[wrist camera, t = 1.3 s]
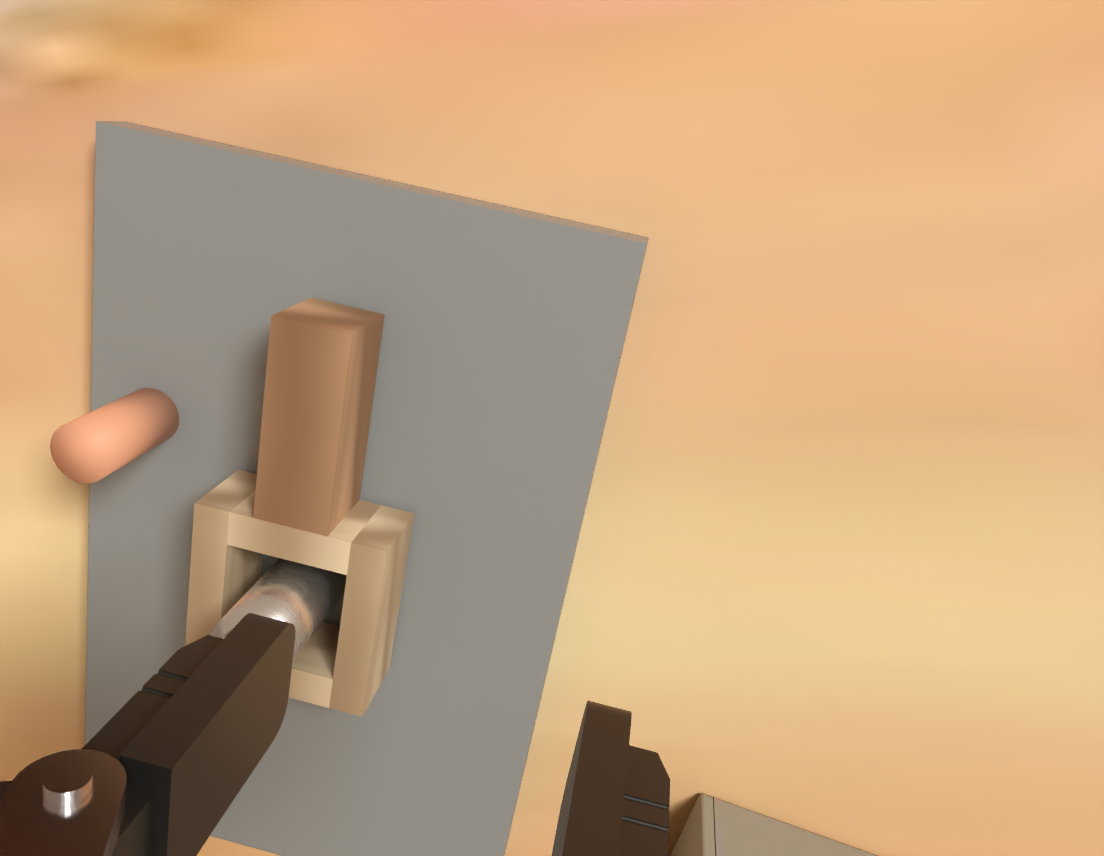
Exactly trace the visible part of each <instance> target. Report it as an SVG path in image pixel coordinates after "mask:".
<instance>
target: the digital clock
mask: <svg viewBox="0 0 1104 856" xmlns="http://www.w3.org/2000/svg"><path fill="white" fill-rule="evenodd" d="M670 856H877V855H874V854H871V853H868V852H865V851H863V850H860V849H857V848H854V847H851V846H849V845H846V844H843V843H840V842H837V841H834V840H832V839H829V838H826V837H823V836H820V835H818V834H815V833H812V832H809V831H806V830H804V829H801V828H798V827H795V826H792V825H790V824H787V823H784V822H781V821H778V820H775V819H773V818H770V817H767V816H764V815H761V814H759V813H756V812H753V811H750V810H747V809H745V808H742V807H739V806H736V805H733V804H731V803H728V802H725V801H722V800H719V799H717V798H714V797H711V796H708V795H705V794H700V795H699V797H698V798H697V800H696V802H695V804H694V806H693V808H692V811H691V813H690V815H689V817H688V819H687V821H686V823H685V825H684V827H683V830H682V832H681V834H680V836H679V838H678V840H677V842H676V844H675V846H674V849H673V851H672V853H671V855H670Z"/></svg>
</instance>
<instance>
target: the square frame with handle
mask: <svg viewBox="0 0 1104 856" xmlns="http://www.w3.org/2000/svg"><path fill="white" fill-rule="evenodd" d="M384 317H385V314H381V313H376V312H372V311H368V310H364V309H359V308H355V307H351V306H346V305H342V304H338V303H333V302H329V301H325V300H320V299H316V298H312V297H311V298H309V299H307V300H305V301H303V302H300V303H298V304H296V305H294V306H291V307H289V308H287V309H285V310H283V311H280V312H278V313H276V314H274V315H272V316H271V323H270V335H269V346H268V357H267V368H266V379H265V390H264V402H263V413H262V424H261V435H260V446H259V457H258V468H257V474H254V473H250V472H246V471H242V470H237V471H236V472H235V473H233V474H232V475H231V476H229V477H228V478H227V479H225V480H224V481H223V482H222V483H220V484H219V485H218V486H216V487H215V488H214V489H212V490H211V491H210V492H208V493H207V494H206V495H205V496H203V497H202V498H201V499H199V500H198V501H197V502H195V503H194V517H193V532H192V548H191V564H190V579H189V595H188V611H187V627H186V642H185V646H186V645H188V644H190V643H192V642H194V641H196V640H198V639H200V638H202V637H204V636H206V635H210V634H211V632H212V630H213V628H214V627H215V625H216V624H217V623H218V622H219V621H220V620H221V619H222V618H223V617H224V616H225V615H226V614H227V613H228V611H229V610H230V609H231V608H232V607H233V606H234V605H235V604H236V603H237V602H238V601H239V600H240V599H241V598H242V597H243V596H244V595H245V594H246V592H247V591H248V590H249V589H250V588H251V587H252V586H253V585H254V584H255V583H256V582H257V581H258V580H259V579H260V578H261V572H262V562H263V554H266V555H269V556H273V557H277V558H281V559H285V560H289V561H293V562H297V563H301V564H305V565H309V566H313V567H317V568H321V569H325V570H329V571H332V572H336V573H340V574H344V575H347V578H346V585H345V592H344V600H343V607H342V615H341V622H340V626H338V625H334V624H330V623H326V622H323V623H322V624H321V626H320V627H319V628H318V630H317V631H316V632H315V634H314V635H313V636H312V638H311V639H310V641H309V642H308V643H307V645H306V646H305V647H304V649H303V650H302V651H301V653H300V654H299V656H298V657H297V658H296V660H295V661H294V662H293V664H292V671H291V680H290V688H289V698H293V699H297V700H300V701H304V702H308V703H312V704H315V705H319V706H323V707H327V708H331V709H334V710H338V711H342V712H346V713H349V714H353V715H357V716H361V717H363V715H364V713H365V711H366V709H367V708H368V706H369V704H370V702H371V700H372V698H373V697H374V695H375V693H376V691H377V689H378V688H379V686H380V684H381V682H382V680H383V678H384V677H385V675H386V673H387V671H388V669H389V667H390V663H391V656H392V650H393V644H394V638H395V631H396V625H397V619H398V613H399V606H400V600H401V594H402V588H403V581H404V575H405V569H406V563H407V556H408V550H409V544H410V538H411V531H412V525H413V519H414V513H412V512H408V511H404V510H400V509H396V508H392V507H388V506H384V505H379V504H375V503H371V502H367V501H363V500H360V494H361V487H362V479H363V472H364V464H365V457H366V450H367V442H368V435H369V427H370V420H371V413H372V405H373V398H374V390H375V383H376V376H377V368H378V361H379V354H380V346H381V339H382V331H383V324H384Z"/></svg>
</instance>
